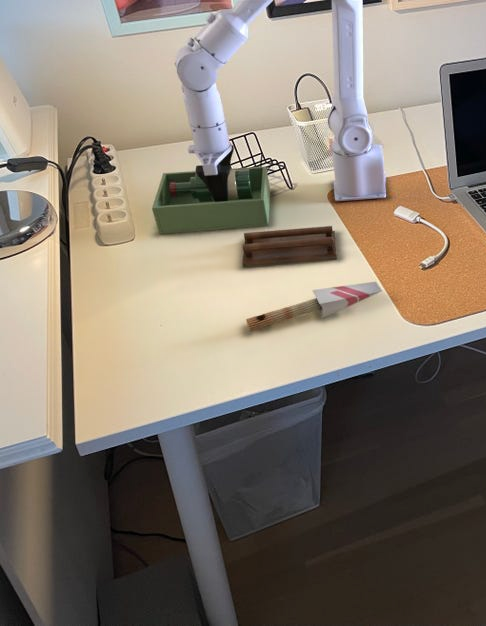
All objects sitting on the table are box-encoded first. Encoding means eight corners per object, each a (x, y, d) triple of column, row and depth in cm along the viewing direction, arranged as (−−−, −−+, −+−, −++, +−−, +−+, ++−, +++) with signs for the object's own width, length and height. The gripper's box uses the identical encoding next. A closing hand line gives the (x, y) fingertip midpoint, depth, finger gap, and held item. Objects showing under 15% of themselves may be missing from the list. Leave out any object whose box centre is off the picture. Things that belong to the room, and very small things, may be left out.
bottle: (254, 190, 133) (249, 164, 129) (253, 204, 129) (247, 177, 125) (177, 196, 130) (170, 169, 127) (173, 210, 126) (165, 182, 123)
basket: (270, 190, 138) (266, 166, 134) (268, 225, 127) (263, 199, 124) (169, 198, 134) (163, 173, 131) (159, 234, 124) (151, 208, 121)
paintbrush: (382, 285, 108) (248, 324, 101) (384, 299, 110) (252, 339, 103) (373, 271, 111) (242, 309, 104) (375, 286, 113) (246, 324, 106)
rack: (335, 234, 125) (333, 219, 124) (337, 259, 119) (335, 244, 117) (245, 242, 123) (242, 226, 121) (243, 267, 117) (239, 252, 115)
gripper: (187, 106, 126) (203, 177, 134) (176, 140, 115) (195, 216, 123) (229, 104, 127) (242, 174, 135) (222, 138, 116) (238, 212, 124)
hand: (223, 194), depth 129 cm, fingers closed on bottle, 5 cm apart
